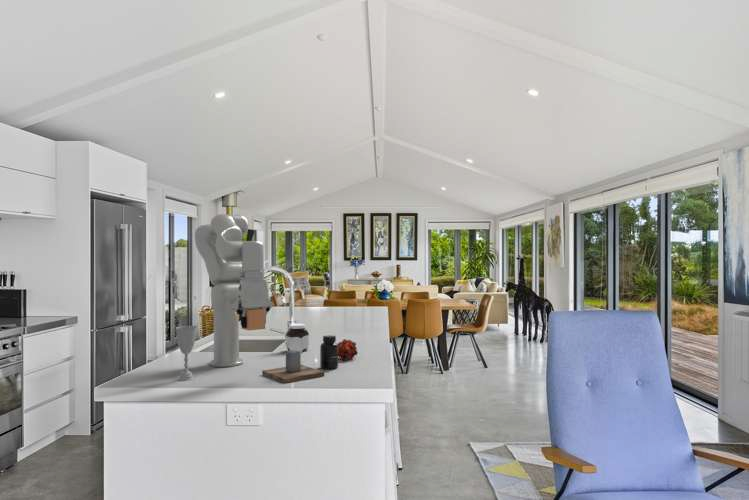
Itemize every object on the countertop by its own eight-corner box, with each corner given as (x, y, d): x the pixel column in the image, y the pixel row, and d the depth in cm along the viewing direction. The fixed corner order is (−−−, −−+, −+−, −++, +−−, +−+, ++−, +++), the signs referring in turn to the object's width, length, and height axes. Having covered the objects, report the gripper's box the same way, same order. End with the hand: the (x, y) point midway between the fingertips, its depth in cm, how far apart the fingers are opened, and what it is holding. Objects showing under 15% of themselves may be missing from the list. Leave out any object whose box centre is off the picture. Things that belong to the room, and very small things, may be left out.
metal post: (285, 371, 190) (285, 351, 190) (295, 369, 192) (294, 350, 192) (291, 372, 187) (291, 353, 187) (300, 371, 189) (300, 351, 189)
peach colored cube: (241, 328, 188) (241, 308, 188) (257, 327, 192) (257, 307, 192) (248, 330, 183) (248, 310, 183) (265, 328, 187) (265, 309, 187)
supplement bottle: (335, 370, 198) (335, 337, 198) (317, 369, 199) (317, 337, 199) (340, 366, 205) (340, 335, 205) (323, 365, 206) (323, 334, 206)
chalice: (190, 375, 190) (190, 325, 190) (201, 378, 186) (200, 326, 186) (171, 379, 184) (171, 327, 185) (182, 382, 180) (181, 329, 180)
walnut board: (262, 374, 191) (262, 370, 191) (300, 368, 201) (300, 364, 201) (284, 383, 178) (284, 378, 178) (324, 375, 188) (324, 371, 188)
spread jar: (302, 348, 243) (302, 322, 243) (316, 351, 234) (316, 325, 234) (279, 351, 235) (279, 325, 235) (292, 355, 227) (292, 327, 227)
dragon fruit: (348, 359, 225) (348, 369, 213) (332, 348, 224) (331, 357, 212) (360, 343, 224) (360, 353, 213) (344, 332, 223) (343, 341, 212)
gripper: (233, 276, 179) (234, 330, 179) (279, 275, 190) (280, 325, 190) (225, 276, 185) (225, 328, 185) (270, 275, 196) (270, 323, 196)
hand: (253, 326), depth 187 cm, fingers closed on peach colored cube, 6 cm apart
